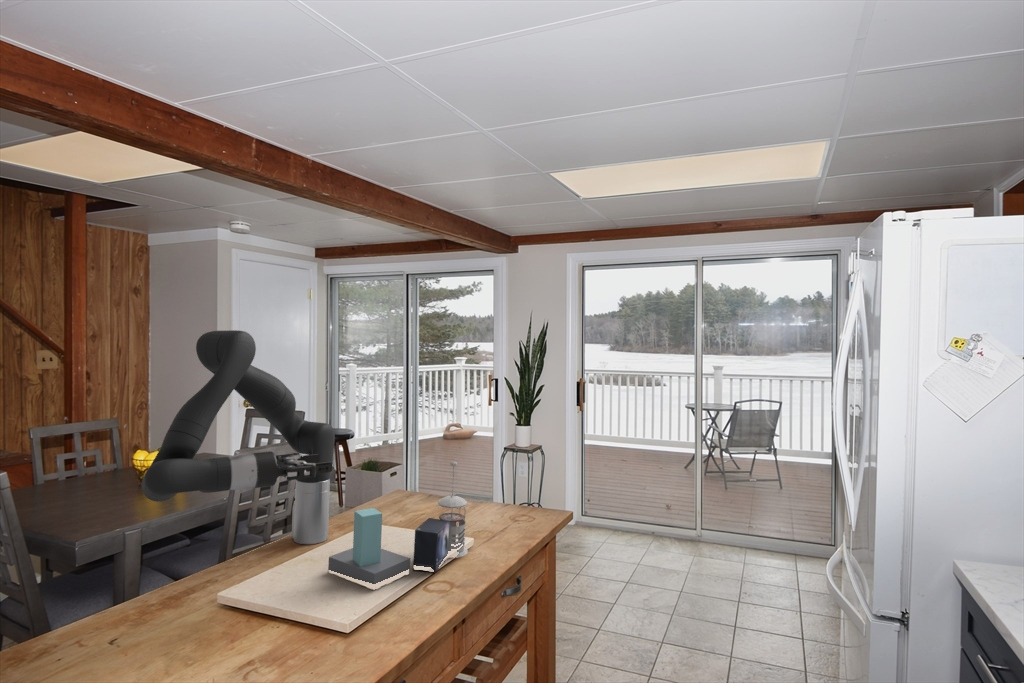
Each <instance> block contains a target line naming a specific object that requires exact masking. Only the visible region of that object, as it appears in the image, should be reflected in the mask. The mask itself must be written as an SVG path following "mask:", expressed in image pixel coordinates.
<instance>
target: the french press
mask: <svg viewBox="0 0 1024 683" xmlns="http://www.w3.org/2000/svg"><path fill="white" fill-rule="evenodd" d="M457 466H458V462H457V461H451V462H450V467H453V468H452V484H454V480H455V476H454V475H455V467H457ZM451 492H452V495H447V496H445V497H442V498H440V499H439V500H438V501H437V505H438V506H440V507H443V508H445V509H446V508H447V509H458V510H459V511H458V512H453V511H450V512H444V513H441V514H439V516H438V518H439V520H447V521H450V522H449V540H448V551H451V549H457V548H459V547H460V546H461V545H462V544H463V546H462V547H461V548H460V549H459V550H457V552H459V554H458V555H457V557H456V558H455V559H458V558H462V557H464V556H466V555H468V553H469V551H468V548H466V549H464V547H465V540H466V539H465V537H466V533H465V532H466V521H465V520H466V513H464V514H462V513H461V509H462V508H463V509H464V511H466V506H467V504H468V501H467V500H465V499H464V498H463V497H460V496H457V495H454V487H452V489H451ZM457 535H458V536H457ZM456 540H457V541H456ZM458 543H461V544H460V545H458V546H456V547H454V546H451V544H454V545H456V544H458Z"/></svg>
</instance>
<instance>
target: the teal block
mask: <svg viewBox="0 0 1024 683" xmlns="http://www.w3.org/2000/svg"><path fill="white" fill-rule="evenodd" d="M353 512H354V515H353V536H352V537H353V539H352V540H353V541H352V544H353V545H352V548H353V560H354V561H355V562H356V563H357V564H358V565H359V566H366V565H371V564H375V563H380V558H381V549H382V532H383V531H382V530H383V529H382V528H383V526H382V525H383V512H381V511H380V510H378V509H376V508H374V507H373V508H372V507H370V508H364V509H360V510H354V511H353Z"/></svg>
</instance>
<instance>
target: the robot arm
mask: <svg viewBox="0 0 1024 683" xmlns="http://www.w3.org/2000/svg"><path fill="white" fill-rule="evenodd" d="M256 347H257V346H256V341H255V339H254V338H253V336H252V335H251V333H249V332H247V331H243V330H235V329H234V330H232V329H231V330H212V331H208V332H205V333H203V334H202V335H200V336H199V338H198V339H197V341H196V344H195V351H196V355H197V358H198V360H199V362H200V364H202V365H203V367H204V368H205V369H207V370H208V371H209V372H211V373H212V374H213V375H212V377H210V379H209V380H208V381H207V383H206V384H205V385H203V386H202V387H201V388H200V389H199V390H198V391H197V392H196V393H195V394H193V396H191V397H190V398H189V399H188V400H187V401H186V402H185V403H184V404H183V405H182V406H181V408H180V409H179V410H178V412H177V413H176V415H175V416H174V418H173V420H172V422H171V424H170V425H169V427H168V430H167V431H166V433H165V436H164V438H163V441H162V443H161V447H160V449H159V450H158V452H157V454H156V456H155V457H154V459H153V460H152V463H151V465H150V466H149V467H148V468H147V470H146V471H145V473H144V476H143V478H142V481H141V492H142V493H143V495H144V496H145V497H146V498H147V499H148V500H150V501H152V502H157V503H158V502H160V503H161V502H166V501H168V500H171V499H173V498H174V497H175V496H176V495H177V494H181V493H188V492H191V493H192V492H197V491H198V492H200V493H206V494H210V493H217V492H218V493H219V492H226V491H243V490H251V489H258V488H259V489H261V488H266V487H273V486H275V484H276V483H277V480H278V478H279V477H284V478H286V481H295V490H294V491H295V492H294V494H295V495H294V496H295V497H294V504H293V505H292V518H291V519H292V520H291V523H292V524H291V539H293V541H294V542H295V543H296V544H301V545H315V544H320V543H323V542H325V541H326V540H328V538H329V519H330V518H329V514H330V511H329V510H330V492H331V491H330V489H331V488H330V487H331V472H333V462H334V452H335V443H336V442H335V441H336V438H335V434H336V433H335V430H334V428H333V426H332V425H331V424H330V423H327V422H326V423H325V422H316V421H308V420H305V419H304V418H302V417H301V416H299V414H298V413H297V412H296V408H297V406H296V404H297V401H296V398H295V396H294V394H293V392H292V391H291V390H290V389H289V388H288V387H287V385H286V384H285V383H284V382H282V380H280V379H278V378H277V377H276V376H274V375H273V374H271V373H269V372H267V371H264V370H263V369H260V368H259V367H257V366H254V365H252V363H253V361H254V359H255V356H256V350H257V348H256ZM233 391H235V392H236V393H237V394H238V395H240V396H241V397H242V398H243V399H244V400H245V401H246V402H247V403H249V405H250V406H251V407H252V408H253V409H254V411H256V412H257V413H259V415H260V416H262V418H264V419H265V420H267V422H269V424H270V425H271V426H272V427H273V428H274V429H275V430H277V431H278V432H279V434H280V435H281V436H282V437H283V438H284V439H285V441H286V442H287V443H288V445H289V446H290V448H292V449H293V451H294V452H293V453H286V454H279V455H276V454H275V452H273V451H259V452H252V453H251V452H250V453H249V452H248V453H241V454H239V453H238V454H234V455H231V456H221V457H213V458H212V457H211V458H205V459H204V458H203V459H200V458H195V456H196V455H197V453H198V452H199V450H200V449H201V447H202V445H203V443H204V440H206V437H207V435H208V432H209V430H210V428H211V426H212V425H213V422H214V421H215V418H216V417H217V415H218V413H219V411H220V410H221V408H222V407H223V405H225V403H226V401H227V399H228V398H229V397H230V396H231V394H232V392H233Z"/></svg>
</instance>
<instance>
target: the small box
mask: <svg viewBox="0 0 1024 683" xmlns="http://www.w3.org/2000/svg"><path fill="white" fill-rule="evenodd" d="M449 522H450V521H447V520H440V519H438V518H432V517H431V518H430V517H428V518H426V520H425V521H424V522H422V523H421V524H420V525H419V526H418V527H416V528H415V529H414V542H413V559H412V560H413V561H412V566H413V565H416V566H424V567H431V568H432V569H433V570H434V573H433V574H436V572H438V570H439V569H438V567H439V565H440V564H441V562H442V561H443V559H444V558H445V557H446V556H447V554H448V540H449Z"/></svg>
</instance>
